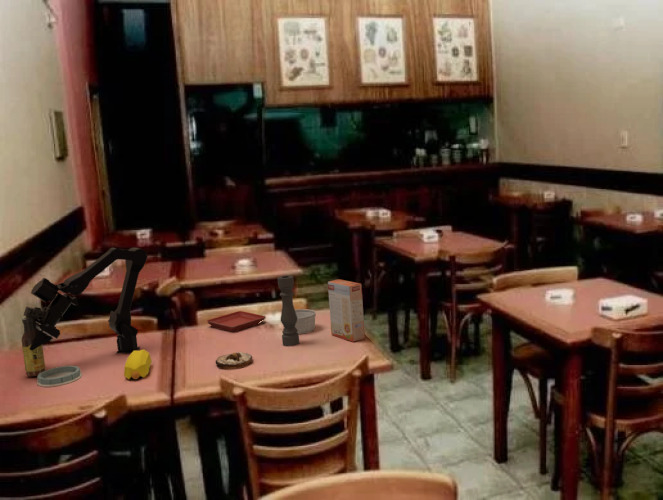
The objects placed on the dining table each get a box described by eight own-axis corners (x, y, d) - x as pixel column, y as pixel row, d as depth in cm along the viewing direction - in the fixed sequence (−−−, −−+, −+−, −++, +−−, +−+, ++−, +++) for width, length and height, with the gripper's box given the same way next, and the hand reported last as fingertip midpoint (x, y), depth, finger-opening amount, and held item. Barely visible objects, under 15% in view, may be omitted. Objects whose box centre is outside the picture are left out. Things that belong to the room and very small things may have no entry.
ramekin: (316, 334, 246) (314, 316, 244) (282, 336, 246) (280, 318, 245) (317, 324, 259) (316, 308, 258) (284, 326, 259) (283, 310, 258)
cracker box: (366, 339, 235) (362, 283, 231) (352, 342, 231) (348, 286, 228) (343, 331, 246) (340, 278, 243) (330, 335, 243) (326, 281, 239)
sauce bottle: (38, 377, 217) (29, 320, 214) (22, 377, 219) (13, 320, 215) (50, 370, 224) (41, 315, 220) (34, 370, 225) (26, 315, 222)
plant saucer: (267, 323, 267) (266, 315, 267) (232, 334, 254) (232, 326, 254) (240, 317, 280) (239, 310, 279) (206, 328, 267) (205, 320, 266)
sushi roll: (209, 361, 223) (208, 350, 223) (252, 354, 227) (251, 343, 227) (214, 375, 209) (213, 362, 209) (259, 367, 213) (258, 355, 213)
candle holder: (279, 345, 234) (273, 278, 230) (287, 340, 240) (281, 275, 236) (295, 346, 232) (289, 278, 228) (302, 341, 237) (296, 275, 233)
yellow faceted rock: (153, 363, 226) (130, 365, 224) (151, 344, 225) (128, 347, 223) (147, 380, 208) (123, 383, 207) (145, 360, 207) (120, 363, 206)
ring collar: (90, 372, 220) (89, 365, 219) (63, 387, 206) (62, 380, 206) (56, 371, 224) (55, 364, 223) (27, 386, 210) (26, 379, 210)
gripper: (29, 293, 226) (0, 331, 221) (44, 300, 212) (14, 341, 207) (55, 310, 233) (28, 347, 228) (72, 318, 218) (43, 358, 213)
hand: (27, 348), depth 219 cm, fingers closed on sauce bottle, 6 cm apart
